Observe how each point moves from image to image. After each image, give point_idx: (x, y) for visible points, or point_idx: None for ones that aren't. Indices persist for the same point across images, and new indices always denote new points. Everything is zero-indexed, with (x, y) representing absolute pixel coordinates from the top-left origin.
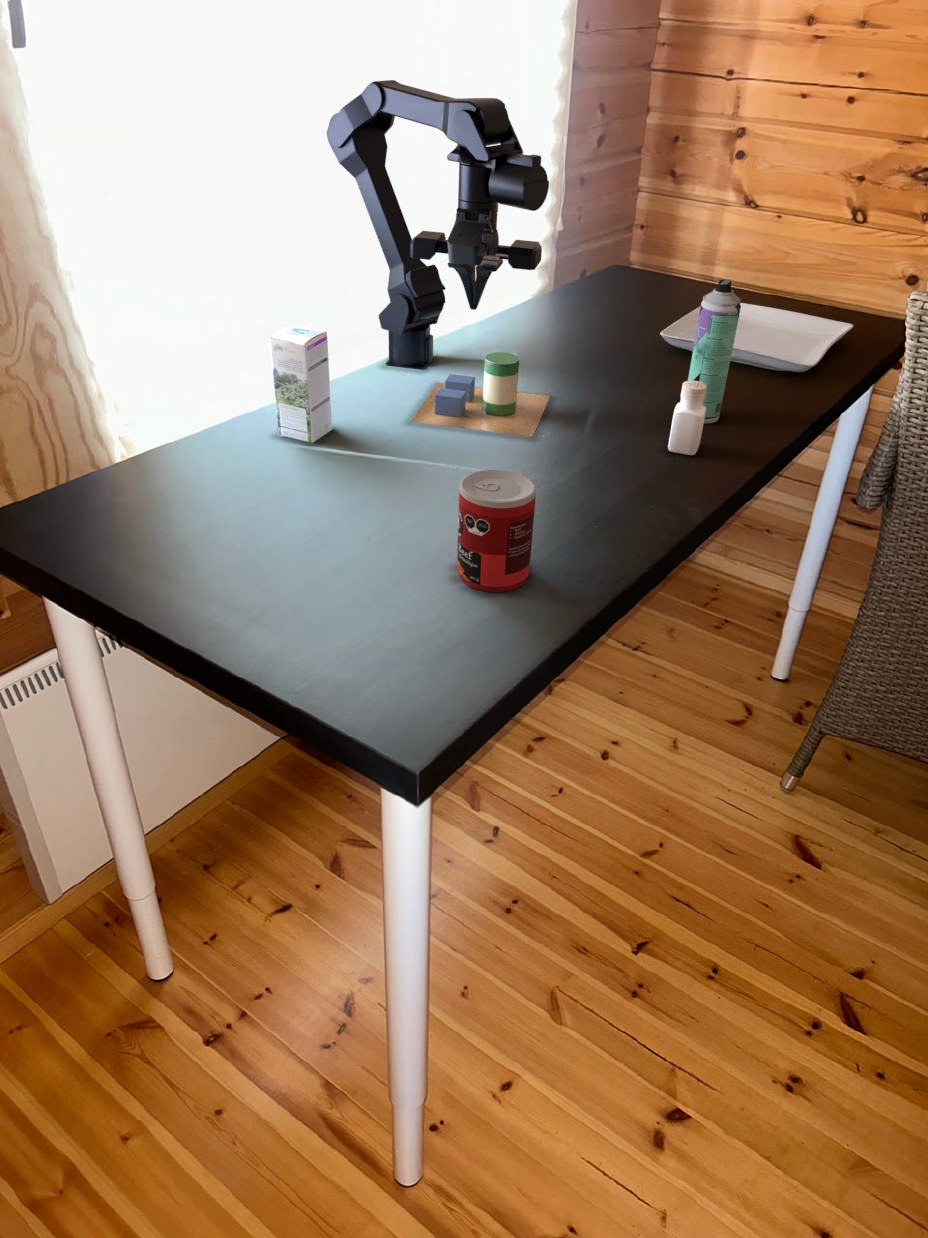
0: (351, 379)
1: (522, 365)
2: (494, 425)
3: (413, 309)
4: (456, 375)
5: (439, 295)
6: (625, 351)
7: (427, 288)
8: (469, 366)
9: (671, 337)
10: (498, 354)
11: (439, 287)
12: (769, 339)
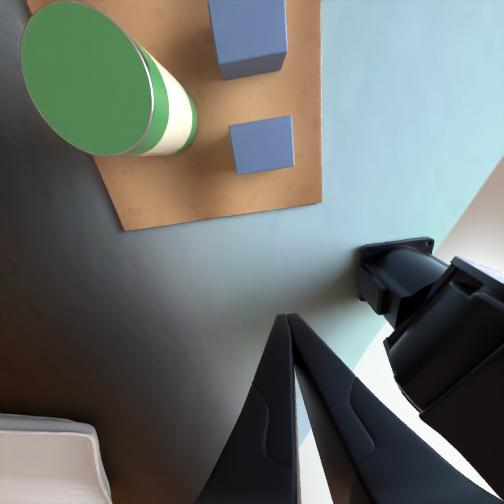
0: (492, 152)
1: (225, 325)
2: (127, 13)
3: (490, 296)
4: (277, 163)
5: (424, 387)
6: (136, 401)
7: (496, 389)
8: (294, 294)
9: (74, 432)
10: (121, 122)
11: (444, 413)
12: (25, 460)
